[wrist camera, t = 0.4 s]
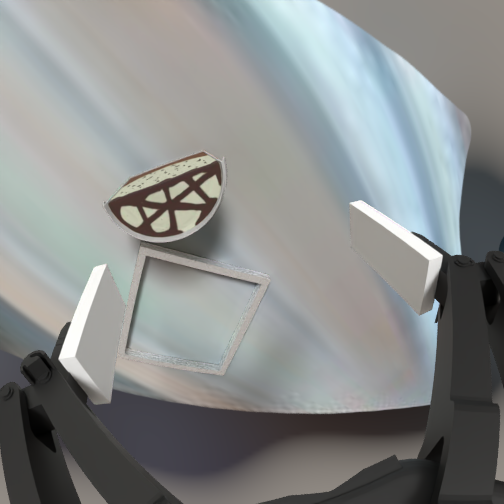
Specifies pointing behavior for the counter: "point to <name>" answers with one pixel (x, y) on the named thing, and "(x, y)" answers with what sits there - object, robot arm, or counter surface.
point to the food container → (170, 198)
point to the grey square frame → (202, 264)
